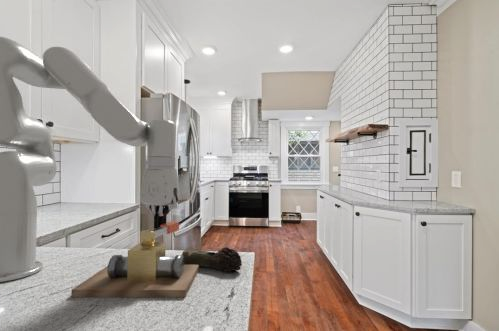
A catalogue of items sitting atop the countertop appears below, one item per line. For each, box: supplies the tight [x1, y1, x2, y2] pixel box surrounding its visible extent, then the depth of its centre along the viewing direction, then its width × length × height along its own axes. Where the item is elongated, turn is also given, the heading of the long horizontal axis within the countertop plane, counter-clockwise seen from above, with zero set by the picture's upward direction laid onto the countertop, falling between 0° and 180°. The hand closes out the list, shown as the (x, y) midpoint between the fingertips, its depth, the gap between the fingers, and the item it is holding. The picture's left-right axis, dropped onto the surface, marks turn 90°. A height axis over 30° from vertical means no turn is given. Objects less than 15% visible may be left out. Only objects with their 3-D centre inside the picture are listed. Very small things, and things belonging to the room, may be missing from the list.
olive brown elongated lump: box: [181, 246, 243, 274], centre depth 72 cm, size 18×7×6 cm, turn 66°
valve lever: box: [140, 221, 180, 247], centre depth 67 cm, size 14×3×3 cm, turn 165°
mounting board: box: [70, 265, 200, 298], centre depth 62 cm, size 24×15×2 cm, turn 90°
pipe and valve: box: [107, 241, 184, 282], centre depth 62 cm, size 16×7×7 cm, turn 90°
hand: (160, 229), depth 72 cm, fingers closed
